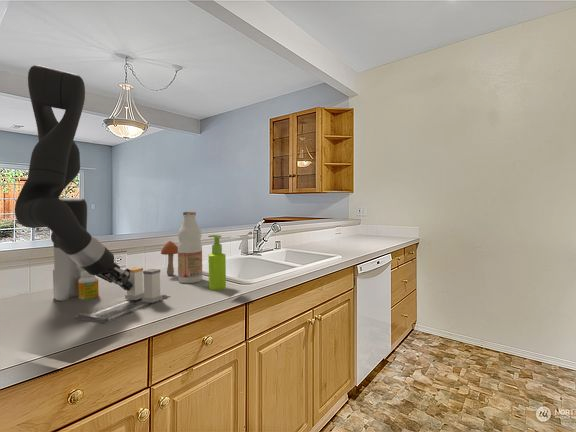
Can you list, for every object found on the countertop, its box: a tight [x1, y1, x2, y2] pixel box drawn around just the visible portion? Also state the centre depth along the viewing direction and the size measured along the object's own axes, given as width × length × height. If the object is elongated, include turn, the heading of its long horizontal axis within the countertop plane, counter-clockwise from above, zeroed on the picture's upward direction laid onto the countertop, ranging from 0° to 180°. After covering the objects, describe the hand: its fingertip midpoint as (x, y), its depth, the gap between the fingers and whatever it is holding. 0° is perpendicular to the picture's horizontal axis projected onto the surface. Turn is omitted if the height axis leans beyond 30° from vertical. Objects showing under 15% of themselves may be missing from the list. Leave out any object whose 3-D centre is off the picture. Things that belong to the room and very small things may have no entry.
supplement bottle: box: [78, 270, 100, 301], centre depth 98 cm, size 5×5×10 cm
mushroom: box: [160, 240, 178, 276], centre depth 134 cm, size 8×8×15 cm
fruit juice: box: [177, 211, 203, 284], centre depth 123 cm, size 9×9×28 cm
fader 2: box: [142, 268, 162, 303], centre depth 93 cm, size 4×4×9 cm
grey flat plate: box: [73, 291, 172, 325], centre depth 89 cm, size 11×24×2 cm, turn 161°
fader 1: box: [124, 267, 144, 300], centre depth 96 cm, size 4×4×9 cm
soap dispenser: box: [207, 234, 227, 291], centre depth 109 cm, size 6×7×20 cm
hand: (129, 287), depth 94 cm, fingers closed
